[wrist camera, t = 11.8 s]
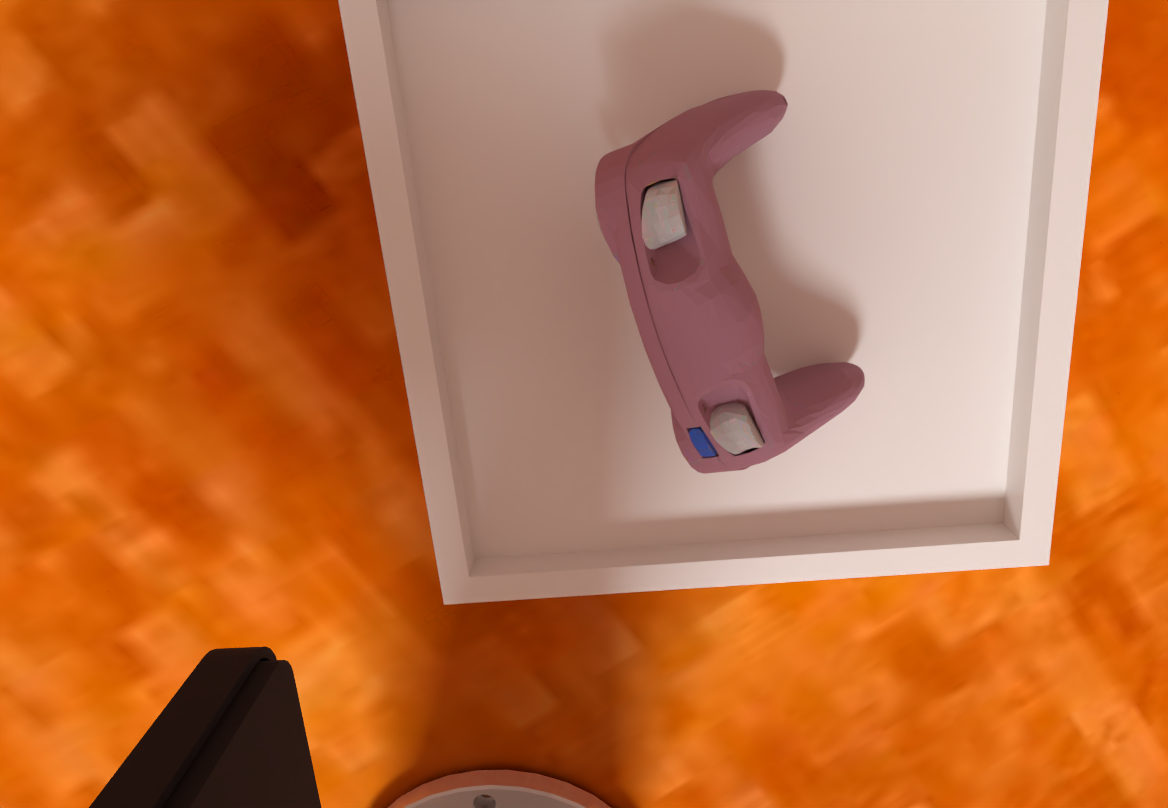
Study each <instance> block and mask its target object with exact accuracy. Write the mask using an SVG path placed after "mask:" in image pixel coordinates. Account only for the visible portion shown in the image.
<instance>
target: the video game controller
mask: <svg viewBox="0 0 1168 808" xmlns="http://www.w3.org/2000/svg"><path fill="white" fill-rule="evenodd" d="M787 106H788V103H787V101H786V99H785V97H784V96H783V95H782V94H780V93H778V92H777V91H770V90H755V91H748V92H743V93H739V94H734V95H730V96H726V97H722V98H718V99H716V100H713V101H711V102H708V103H706V104H703V105H700V106H697V107H694V108H691V109H689V110H687V111H685V112H683V113H681V114H679V115H678V116H676V117H674V118H672V119H670V120H669V121H667V122H666V123H664V124H663V125H661V126H659V127H658V128H656V129H655V130H653V131H652V132H650V133H648V134H647V135H645V136H644V137H642V138H641V139H639V140H637V141H636V142H634V143H633V144H630V145H628V146H625V147H622V148H620V149H617V150H615V151H612V152H609V153H608V154H606V155H604V156H603V157H602V158H601V159H600V161H599V163H598V166H597V169H596V173H595V207H596V214H597V223H598V226H599V229H600V232H601V233H602V235H603V236H604V238H605V240H606V242H607V244H608V246H609V248H610V250H611V252H612V254H613V256H614V257H615V259H616V260H617V261H618V263H619V264H620V266H621V270H622V274H623V278H624V282H625V286H626V290H627V294H628V299H629V303H630V306H631V309H632V312H633V315H634V318H635V321H636V324H637V327H638V330H639V333H640V336H641V339H642V342H643V345H644V348H645V351H646V354H647V356H648V359H649V361H650V363H651V366H652V368H653V371H654V373H655V376H656V378H657V381H658V383H659V386H660V388H661V390H662V392H663V394H664V396H665V398H666V401H667V403H668V405H669V407H670V409H671V417H672V425H673V430H674V434H675V438H676V442H677V444H678V446H679V448H680V450H681V453H682V455H683V456H684V458H685V459H686V461H687V462H688V463H689V465H690V466H691V467H692V468H693V469H695V470H696V471H697V472H700V473H703V474H706V473H716V472H727V471H737V470H745V469H747V468H748V467H750V466H752V465H756V464H760V463H763V462H766V461H768V460H770V459H772V458H774V457H776V456H778V455H779V454H781V453H783V452H785V451H787V450H788V449H790V448H791V447H793V446H794V445H795V444H797V443H798V442H800V441H801V440H803V439H804V438H806V437H807V436H808V435H810V434H811V433H813V432H814V431H816V430H817V429H818V428H820V427H821V426H823V425H824V424H826V423H827V422H828V421H830V420H831V419H833V418H834V417H836V416H837V415H838V414H840V413H841V412H843V411H844V410H845V409H846V408H847V407H849V406H850V405H851V404H852V403H853V402H854V401H855V400H856V398H857V397H858V395H859V394H860V392H861V391H862V389H863V387H864V383H865V376H864V373H863V371H862V369H861V368H860V367H858V366H857V365H854V364H852V363H848V362H837V363H822V364H816V365H811V366H807V367H802V368H799V369H796V370H793V371H791V372H788V373H785V374H783V375H780V376H777V377H775V378H773V375H772V373H771V370H770V367H769V365H768V362H767V360H766V357H765V354H764V329H763V322H762V315H761V310H760V306H759V303H758V300H757V296H756V294H755V292H754V290H753V288H752V287H751V285H750V283H749V281H748V279H747V278H746V276H745V274H744V272H743V271H742V269H741V267H740V266H739V264H738V263H737V261H736V259H735V258H734V256H733V254H732V251H731V247H730V244H729V240H728V236H727V232H726V229H725V225H724V221H723V218H722V214H721V211H720V207H719V204H718V201H717V197H716V194H715V191H714V187H713V177H714V176H715V174H716V173H717V172H718V171H719V170H720V169H721V168H722V167H723V166H724V165H725V164H726V163H728V162H729V161H730V160H731V159H732V158H733V157H734V156H736V155H738V154H739V153H741V152H742V151H744V150H745V149H747V148H748V147H750V146H751V145H753V144H755V143H756V142H758V141H759V140H761V139H762V138H764V137H765V136H767V135H768V134H770V133H771V132H772V131H773V130H774V129H775V127H776V126H777V125H778V124H779V122H780V121H781V120H782V119H783V116H784V114H785V112H786V109H787Z"/></svg>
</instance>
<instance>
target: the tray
mask: <svg viewBox="0 0 1168 808" xmlns="http://www.w3.org/2000/svg"><path fill="white" fill-rule="evenodd" d="M338 2H339V8H340V13H341V19H342V25H343V30H344V36H345V42H346V48H347V53H348V59H349V65H350V70H351V76H352V82H353V88H354V93H355V99H356V105H357V110H358V116H359V122H360V128H361V133H362V139H363V145H364V150H365V156H366V162H367V168H368V173H369V179H370V185H371V190H372V196H373V202H374V208H375V213H376V219H377V225H378V231H379V236H380V242H381V248H382V253H383V259H384V265H385V271H386V276H387V282H388V288H389V293H390V299H391V305H392V311H393V316H394V322H395V328H396V333H397V339H398V345H399V351H400V356H401V362H402V368H403V373H404V379H405V385H406V391H407V396H408V402H409V408H410V413H411V419H412V425H413V431H414V436H415V442H416V448H417V454H418V459H419V465H420V471H421V476H422V482H423V488H424V494H425V499H426V505H427V511H428V516H429V522H430V528H431V534H432V539H433V545H434V551H435V556H436V562H437V568H438V574H439V579H440V585H441V591H442V596H443V602H444V605H447V604H462V603H478V602H493V601H508V600H523V599H539V598H554V597H569V596H584V595H599V594H615V593H630V592H645V591H660V590H676V589H691V588H706V587H721V586H736V585H752V584H767V583H782V582H797V581H813V580H828V579H843V578H858V577H874V576H889V575H904V574H919V573H934V572H950V571H965V570H980V569H995V568H1011V567H1026V566H1041V565H1049V557H1050V547H1051V538H1052V528H1053V519H1054V510H1055V500H1056V491H1057V481H1058V472H1059V463H1060V453H1061V444H1062V434H1063V425H1064V416H1065V406H1066V397H1067V387H1068V378H1069V369H1070V359H1071V350H1072V340H1073V331H1074V322H1075V312H1076V303H1077V293H1078V284H1079V275H1080V265H1081V256H1082V246H1083V237H1084V228H1085V218H1086V209H1087V200H1088V190H1089V181H1090V171H1091V162H1092V153H1093V143H1094V134H1095V124H1096V115H1097V106H1098V96H1099V87H1100V77H1101V68H1102V59H1103V49H1104V40H1105V30H1106V21H1107V12H1108V2H1109V0H338ZM755 90H770V91H777V92H778V93H780V94H782V95H783V96H784V97H785V99H786V101H787V103H788V106H787V109H786V112H785V114H784V116H783V119H782V120H781V121H780V122H779V124H778V125H777V126H776V127H775V129H774V130H773V131H772V132H771V133H770V134H768V135H767V136H765V137H764V138H762V139H761V140H759V141H758V142H756V143H755V144H753V145H751V146H750V147H748V148H747V149H745V150H744V151H742V152H741V153H739V154H738V155H736V156H734V157H733V158H732V159H731V160H730V161H729V162H728V163H726V164H725V165H724V166H723V167H722V168H721V169H720V170H719V171H718V172H717V173H716V174H715V176H714V177H713V187H714V191H715V194H716V197H717V201H718V204H719V207H720V211H721V214H722V218H723V221H724V225H725V229H726V232H727V236H728V240H729V244H730V247H731V251H732V254H733V256H734V258H735V259H736V261H737V263H738V264H739V266H740V267H741V269H742V271H743V272H744V274H745V276H746V278H747V279H748V281H749V283H750V285H751V287H752V288H753V290H754V292H755V294H756V296H757V300H758V303H759V306H760V310H761V315H762V322H763V329H764V354H765V357H766V360H767V362H768V365H769V367H770V370H771V373H772V375H773V378H775V377H777V376H780V375H783V374H785V373H788V372H791V371H793V370H796V369H799V368H802V367H807V366H811V365H816V364H822V363H837V362H848V363H852V364H854V365H857V366H858V367H860V368H861V369H862V371H863V373H864V376H865V383H864V387H863V389H862V391H861V392H860V394H859V395H858V397H857V398H856V400H855V401H854V402H853V403H852V404H851V405H850V406H849V407H847V408H846V409H845V410H844V411H843V412H841V413H840V414H838V415H837V416H836V417H834V418H833V419H831V420H830V421H828V422H827V423H826V424H824V425H823V426H821V427H820V428H818V429H817V430H816V431H814V432H813V433H811V434H810V435H808V436H807V437H806V438H804V439H803V440H801V441H800V442H798V443H797V444H795V445H794V446H793V447H791V448H790V449H788V450H787V451H785V452H783V453H781V454H779V455H778V456H776V457H774V458H772V459H770V460H768V461H766V462H763V463H760V464H756V465H752V466H750V467H748V468H747V469H745V470H737V471H727V472H716V473H706V474H703V473H700V472H697V471H696V470H695V469H693V468H692V467H691V466H690V465H689V463H688V462H687V461H686V459H685V458H684V456H683V455H682V453H681V450H680V448H679V446H678V444H677V442H676V438H675V434H674V430H673V425H672V417H671V409H670V407H669V405H668V403H667V401H666V398H665V396H664V394H663V392H662V390H661V388H660V386H659V383H658V381H657V378H656V376H655V373H654V371H653V368H652V366H651V363H650V361H649V359H648V356H647V354H646V351H645V348H644V345H643V342H642V339H641V336H640V333H639V330H638V327H637V324H636V321H635V318H634V315H633V312H632V309H631V306H630V303H629V299H628V294H627V290H626V286H625V282H624V278H623V274H622V270H621V266H620V264H619V263H618V261H617V260H616V259H615V257H614V256H613V254H612V252H611V250H610V248H609V246H608V244H607V242H606V240H605V238H604V236H603V235H602V233H601V232H600V229H599V226H598V223H597V214H596V207H595V173H596V169H597V166H598V163H599V161H600V159H601V158H602V157H603V156H604V155H606V154H608V153H609V152H612V151H615V150H617V149H620V148H622V147H625V146H628V145H630V144H633V143H634V142H636V141H637V140H639V139H641V138H642V137H644V136H645V135H647V134H648V133H650V132H652V131H653V130H655V129H656V128H658V127H659V126H661V125H663V124H664V123H666V122H667V121H669V120H670V119H672V118H674V117H676V116H678V115H679V114H681V113H683V112H685V111H687V110H689V109H691V108H694V107H697V106H700V105H703V104H706V103H708V102H711V101H713V100H716V99H718V98H722V97H726V96H730V95H734V94H739V93H743V92H748V91H755Z"/></svg>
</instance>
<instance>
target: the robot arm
mask: <svg viewBox="0 0 1168 808" xmlns="http://www.w3.org/2000/svg"><path fill="white" fill-rule="evenodd" d="M89 808H321V804H320V799H319V794H318V790H317V785H316V780H315V775H314V770H313V765H312V761H311V756H310V751H309V746H308V741H307V737H306V732H305V727H304V722H303V717H302V712H301V708H300V703H299V698H298V693H297V688H296V683H295V679H294V674H293V670H292V667H291V665H290V664H289V662H288V661H285V660H277V659H276V656H275V654H274V653H273V651H272V650H271V649H270V648H268V647H248V648H225V649H214V650H211V651H209V652H208V653H207V654H206V655H205V656H204V657H203V659H202V660H201V661H200V663H199V664H198V665H197V666H196V668H195V669H194V670H193V672H192V673H191V674H190V676H189V677H188V678H187V680H186V681H185V682H184V684H183V685H182V686H181V687H180V689H179V690H178V691H177V693H176V694H175V695H174V697H173V698H172V699H171V701H170V702H169V703H168V705H167V706H166V707H165V708H164V710H163V711H162V712H161V714H160V715H159V716H158V718H157V719H156V720H155V722H154V723H153V724H152V726H151V727H150V728H149V729H148V731H147V732H146V733H145V735H144V736H143V737H142V739H141V740H140V741H139V743H138V744H137V745H136V747H135V748H134V749H133V750H132V752H131V753H130V754H129V756H128V757H127V758H126V760H125V761H124V762H123V764H122V765H121V766H120V768H119V769H118V770H117V771H116V773H115V774H114V775H113V777H112V778H111V779H110V781H109V782H108V783H107V785H106V786H105V787H104V789H103V790H102V791H101V792H100V794H99V795H98V796H97V798H96V799H95V800H94V802H93V803H92V804H91V806H90V807H89ZM388 808H611V807H610V806H608V805H607V804H605V803H604V802H602V801H601V800H600V799H598V798H597V797H595V796H594V795H592V794H590V793H588V792H586V791H584V790H582V789H580V788H578V787H576V786H573V785H571V784H569V783H567V782H564V781H561V780H557V779H554V778H550V777H547V776H544V775H540V774H536V773H528V772H521V771H514V770H476V771H470V772H464V773H458V774H453V775H448V776H445V777H442V778H439V779H436V780H433V781H431V782H428V783H425V784H422V785H420V786H419V787H417V788H415V789H413V790H411V791H410V792H408V793H406V794H404V795H403V796H401V797H399V798H398V799H397V800H396V801H394V802H393V803H392V804H391V805H390V806H389V807H388Z"/></svg>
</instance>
